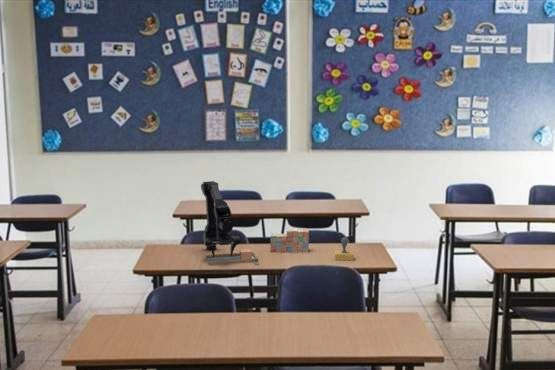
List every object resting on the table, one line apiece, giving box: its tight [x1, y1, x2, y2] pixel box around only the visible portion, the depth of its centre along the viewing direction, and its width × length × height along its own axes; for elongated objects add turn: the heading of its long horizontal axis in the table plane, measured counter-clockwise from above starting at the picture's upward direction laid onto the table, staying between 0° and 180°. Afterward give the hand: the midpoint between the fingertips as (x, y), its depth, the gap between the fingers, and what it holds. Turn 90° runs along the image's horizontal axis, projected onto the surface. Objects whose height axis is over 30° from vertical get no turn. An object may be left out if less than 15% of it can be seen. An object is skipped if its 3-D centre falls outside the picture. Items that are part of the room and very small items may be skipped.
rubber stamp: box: [334, 237, 355, 261], centre depth 337 cm, size 10×6×12 cm, turn 85°
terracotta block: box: [238, 248, 253, 260], centre depth 335 cm, size 5×6×4 cm
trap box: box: [205, 251, 259, 266], centre depth 332 cm, size 13×26×3 cm, turn 103°
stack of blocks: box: [270, 228, 310, 253], centre depth 353 cm, size 21×6×12 cm, turn 86°
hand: (222, 256), depth 333 cm, fingers open, 9 cm apart
